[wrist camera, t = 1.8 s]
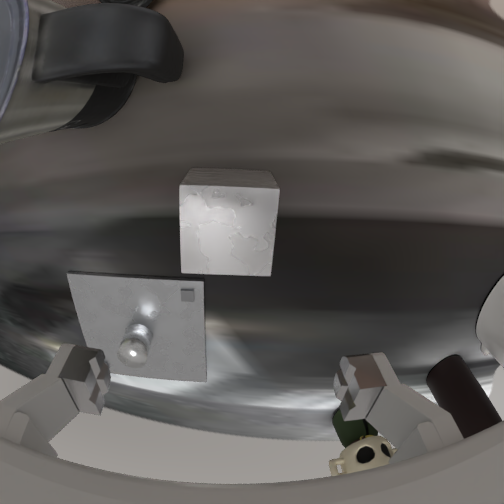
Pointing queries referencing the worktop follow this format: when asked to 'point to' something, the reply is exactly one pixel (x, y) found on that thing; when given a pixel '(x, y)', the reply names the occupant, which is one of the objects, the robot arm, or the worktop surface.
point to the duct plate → (143, 323)
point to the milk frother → (77, 62)
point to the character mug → (359, 446)
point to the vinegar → (462, 396)
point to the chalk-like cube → (228, 221)
